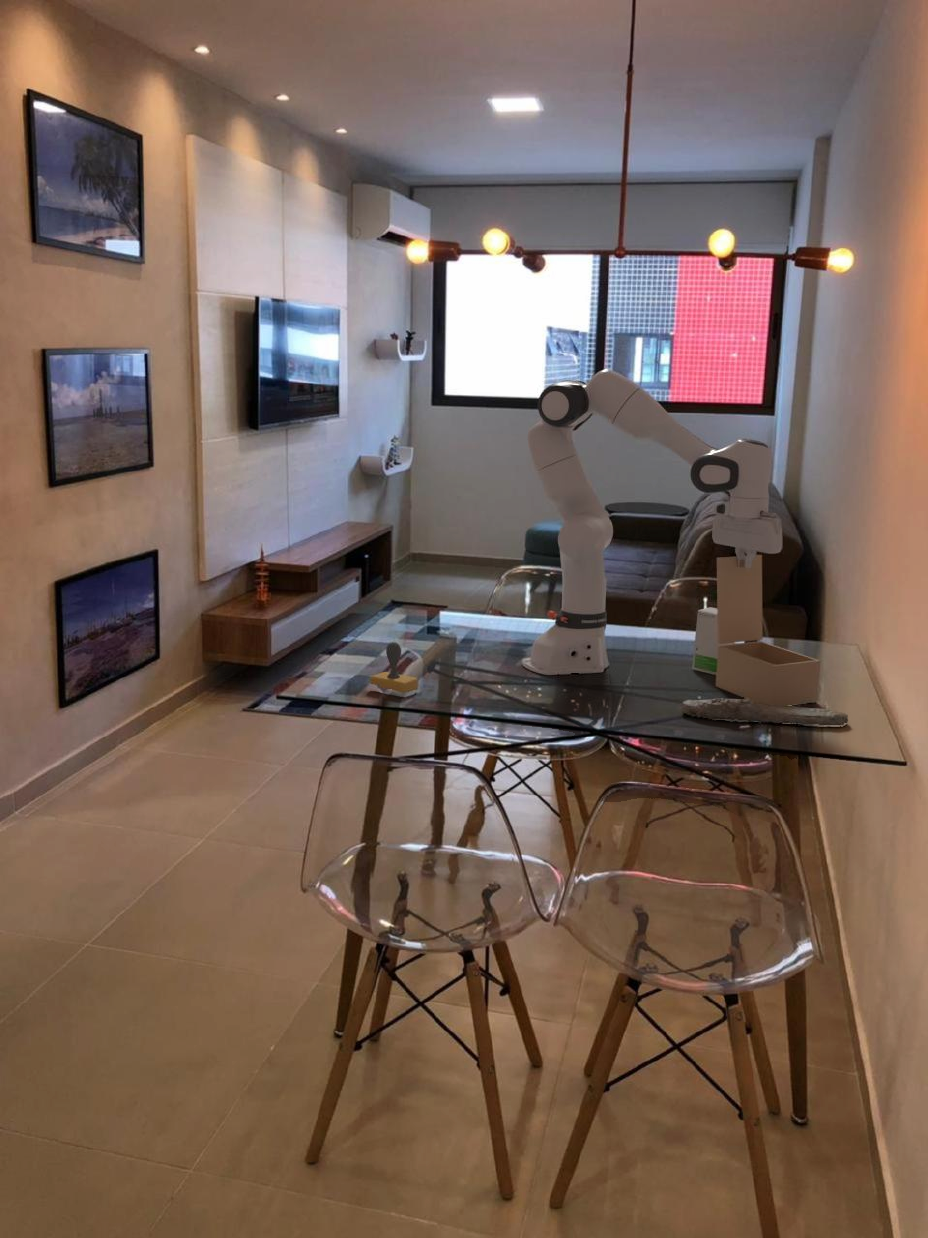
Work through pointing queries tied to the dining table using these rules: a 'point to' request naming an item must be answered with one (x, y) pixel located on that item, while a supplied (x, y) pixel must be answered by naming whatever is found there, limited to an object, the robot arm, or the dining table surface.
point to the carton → (767, 673)
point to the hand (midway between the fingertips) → (744, 567)
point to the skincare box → (706, 641)
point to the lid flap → (739, 600)
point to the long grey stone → (761, 712)
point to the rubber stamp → (394, 673)
